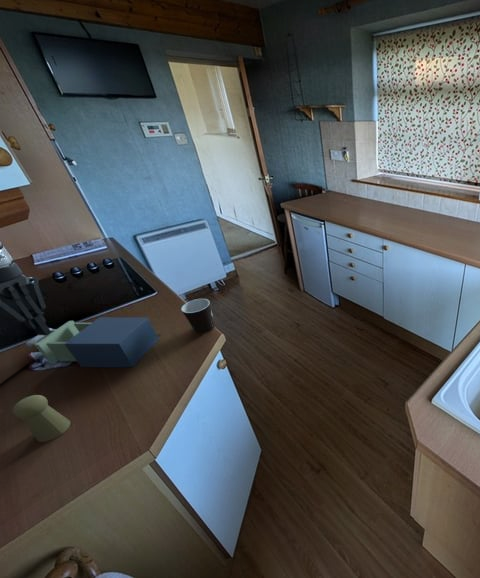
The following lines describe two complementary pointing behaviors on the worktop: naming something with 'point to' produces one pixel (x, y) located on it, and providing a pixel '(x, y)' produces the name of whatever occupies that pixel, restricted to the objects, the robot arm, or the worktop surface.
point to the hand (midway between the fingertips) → (44, 333)
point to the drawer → (57, 342)
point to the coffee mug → (199, 315)
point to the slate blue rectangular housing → (113, 342)
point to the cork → (41, 418)
